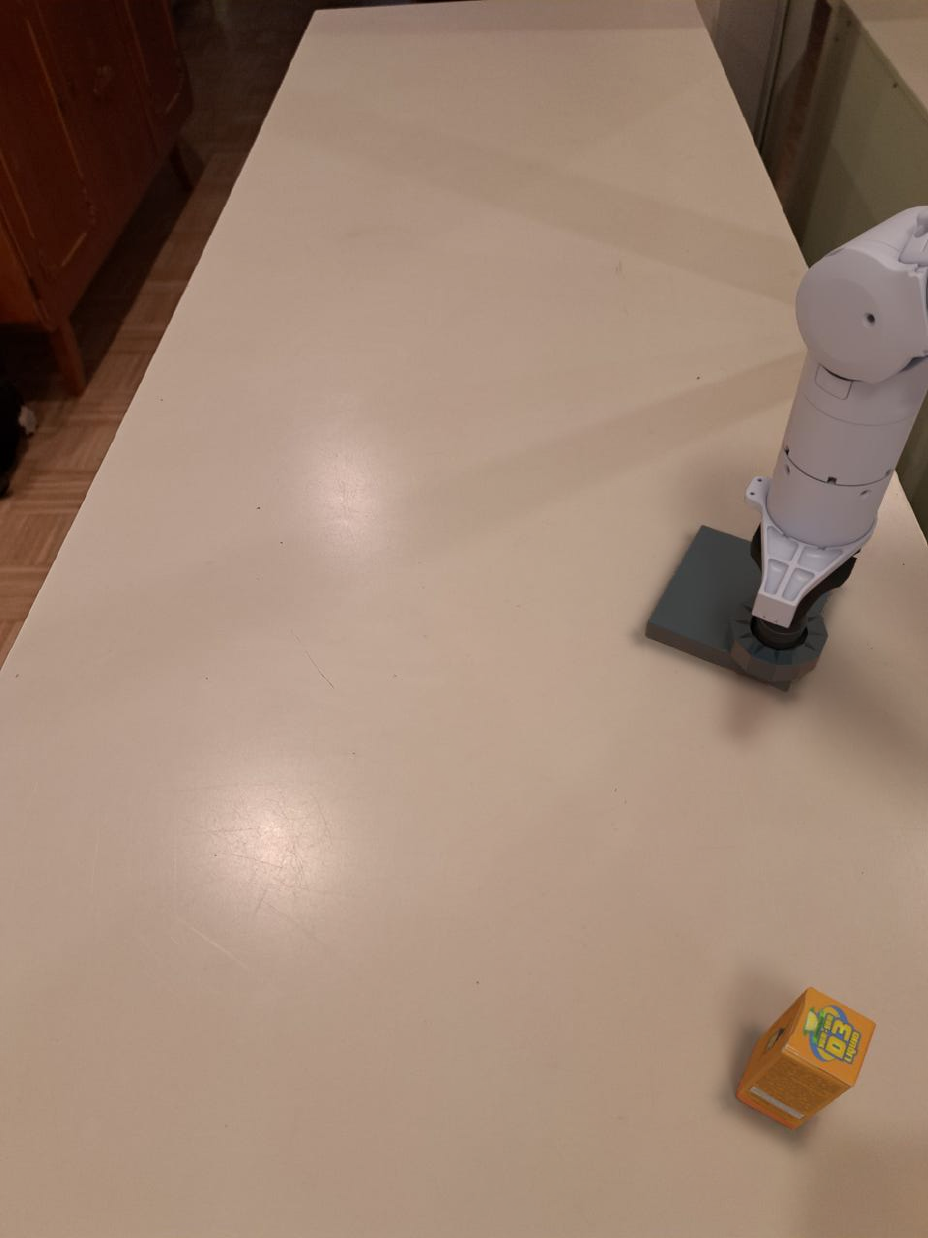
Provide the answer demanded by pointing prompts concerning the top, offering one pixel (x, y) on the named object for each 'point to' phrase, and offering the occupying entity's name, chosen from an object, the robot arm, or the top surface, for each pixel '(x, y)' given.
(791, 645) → the dark brown short cylinder
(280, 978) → the top surface
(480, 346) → the top surface
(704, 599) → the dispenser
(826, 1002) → the supplement box
